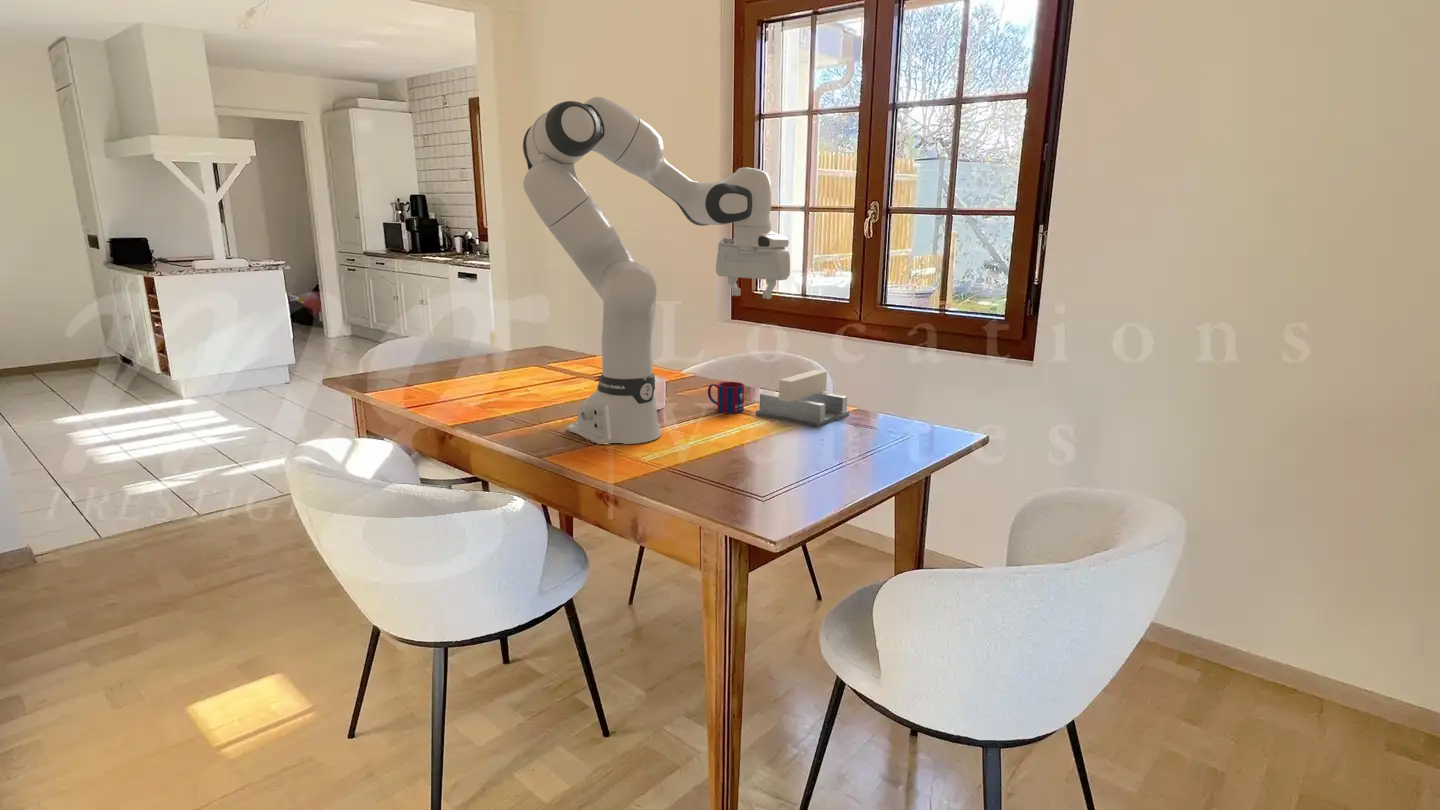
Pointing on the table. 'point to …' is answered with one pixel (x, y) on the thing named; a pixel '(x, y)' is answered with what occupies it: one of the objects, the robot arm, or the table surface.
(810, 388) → the clay strip
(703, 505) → the table surface
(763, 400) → the grey channel stand
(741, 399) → the mug
